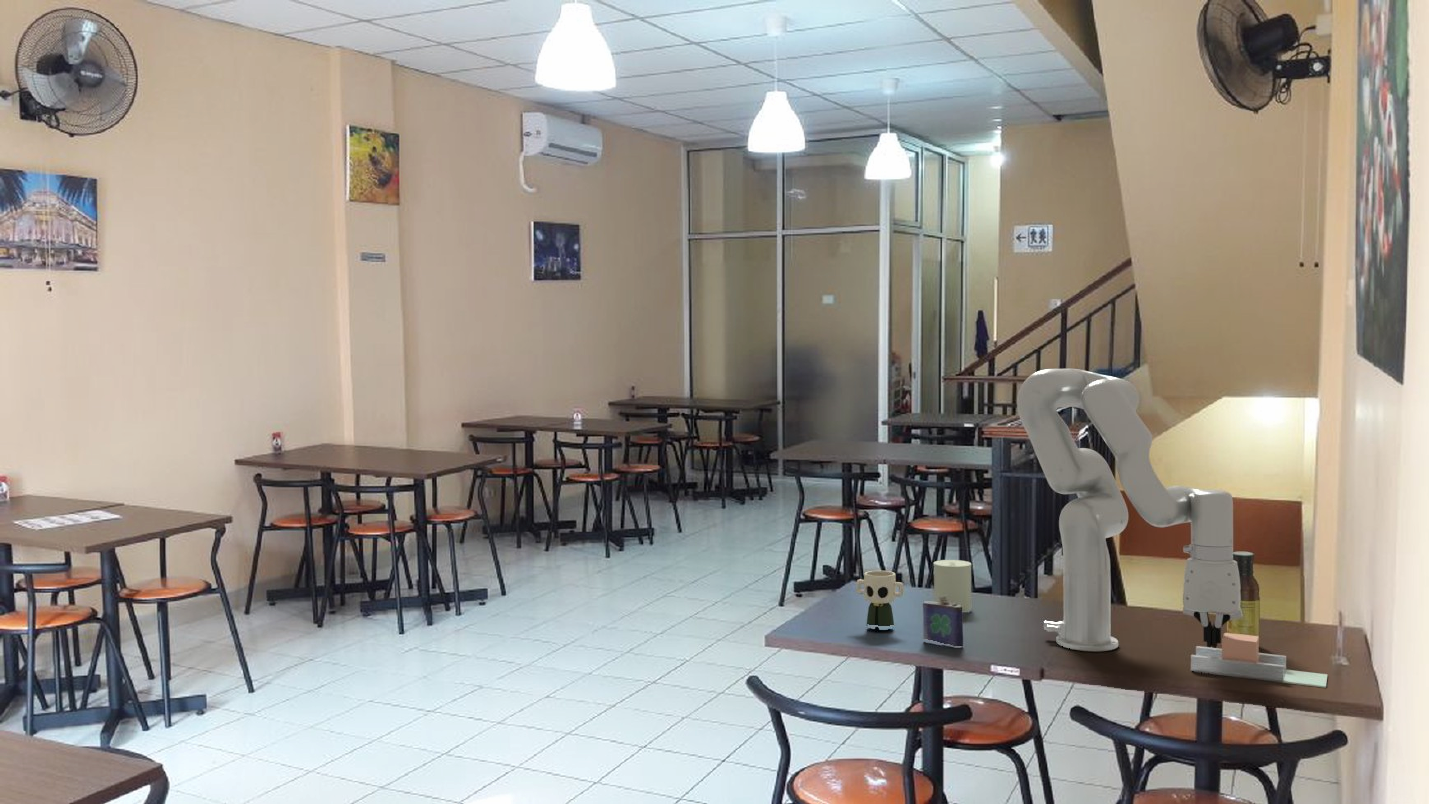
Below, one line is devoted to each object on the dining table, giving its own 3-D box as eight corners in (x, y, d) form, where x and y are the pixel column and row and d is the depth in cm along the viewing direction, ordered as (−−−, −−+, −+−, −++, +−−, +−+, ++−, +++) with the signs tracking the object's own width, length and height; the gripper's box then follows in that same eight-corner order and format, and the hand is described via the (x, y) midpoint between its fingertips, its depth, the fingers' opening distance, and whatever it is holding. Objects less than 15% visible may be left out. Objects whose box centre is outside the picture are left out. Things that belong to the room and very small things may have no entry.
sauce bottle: (1231, 640, 236) (1231, 548, 235) (1263, 644, 232) (1263, 551, 231) (1223, 646, 231) (1223, 553, 230) (1255, 651, 227) (1255, 556, 226)
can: (934, 613, 265) (933, 564, 265) (933, 605, 274) (932, 557, 274) (973, 614, 264) (972, 564, 263) (970, 605, 273) (970, 558, 273)
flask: (921, 643, 238) (920, 594, 238) (927, 640, 240) (927, 591, 240) (959, 649, 232) (959, 599, 232) (966, 646, 234) (966, 597, 234)
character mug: (852, 631, 249) (851, 574, 249) (862, 624, 256) (861, 568, 255) (899, 635, 245) (898, 577, 244) (907, 628, 251) (907, 572, 251)
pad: (1283, 682, 205) (1283, 681, 205) (1286, 671, 213) (1286, 669, 213) (1325, 687, 202) (1325, 686, 202) (1327, 675, 209) (1327, 674, 209)
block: (1221, 669, 212) (1222, 638, 212) (1224, 662, 217) (1224, 632, 216) (1256, 673, 209) (1256, 642, 209) (1258, 666, 213) (1258, 636, 213)
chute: (1190, 671, 213) (1190, 656, 213) (1196, 660, 221) (1196, 645, 221) (1283, 682, 205) (1283, 666, 205) (1286, 671, 213) (1286, 655, 213)
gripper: (1168, 553, 215) (1168, 646, 216) (1252, 559, 208) (1252, 655, 208) (1174, 547, 222) (1174, 637, 222) (1256, 553, 214) (1256, 646, 215)
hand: (1212, 645), depth 215 cm, fingers closed
